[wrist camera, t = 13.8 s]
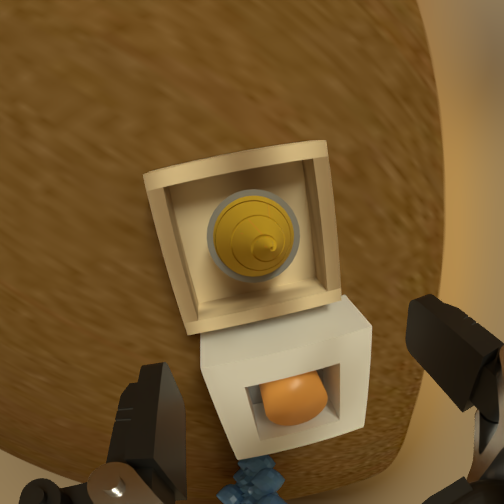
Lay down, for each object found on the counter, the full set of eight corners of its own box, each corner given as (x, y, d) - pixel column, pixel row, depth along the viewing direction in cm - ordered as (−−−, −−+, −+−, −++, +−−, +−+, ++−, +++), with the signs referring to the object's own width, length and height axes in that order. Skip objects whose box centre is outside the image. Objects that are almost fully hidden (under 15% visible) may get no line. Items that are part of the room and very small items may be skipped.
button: (261, 395, 27) (270, 431, 23) (252, 356, 25) (260, 392, 21) (313, 382, 27) (328, 415, 23) (309, 342, 26) (327, 375, 21)
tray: (189, 313, 24) (187, 335, 21) (151, 170, 20) (143, 174, 17) (327, 283, 24) (341, 300, 22) (310, 140, 21) (325, 140, 18)
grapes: (221, 423, 28) (232, 525, 17) (283, 426, 30) (311, 519, 18) (205, 475, 32) (212, 555, 20) (257, 477, 33) (273, 552, 22)
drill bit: (218, 278, 22) (217, 330, 12) (201, 202, 21) (185, 192, 11) (292, 261, 22) (347, 298, 12) (278, 186, 21) (325, 165, 12)
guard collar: (232, 421, 28) (237, 460, 24) (200, 328, 24) (200, 368, 19) (345, 393, 29) (363, 426, 24) (345, 294, 25) (372, 326, 20)
